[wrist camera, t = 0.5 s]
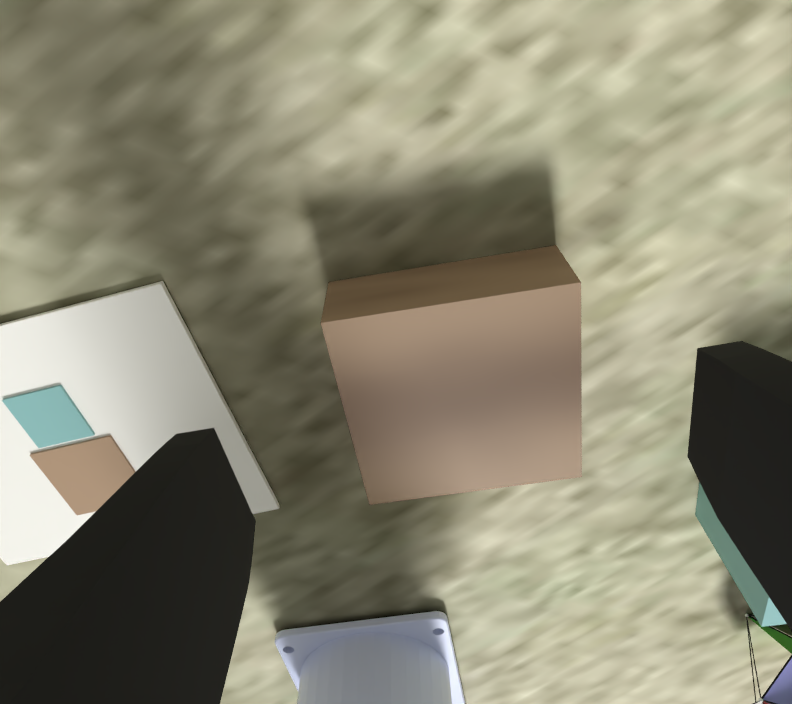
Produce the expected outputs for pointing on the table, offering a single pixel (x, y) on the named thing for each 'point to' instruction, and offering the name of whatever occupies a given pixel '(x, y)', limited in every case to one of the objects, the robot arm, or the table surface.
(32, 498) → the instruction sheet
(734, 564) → the teal brick
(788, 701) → the geometric puzzle
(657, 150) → the table surface
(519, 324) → the brown block
